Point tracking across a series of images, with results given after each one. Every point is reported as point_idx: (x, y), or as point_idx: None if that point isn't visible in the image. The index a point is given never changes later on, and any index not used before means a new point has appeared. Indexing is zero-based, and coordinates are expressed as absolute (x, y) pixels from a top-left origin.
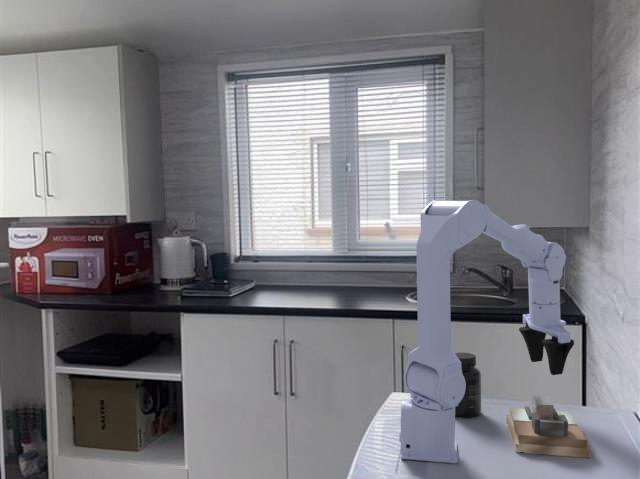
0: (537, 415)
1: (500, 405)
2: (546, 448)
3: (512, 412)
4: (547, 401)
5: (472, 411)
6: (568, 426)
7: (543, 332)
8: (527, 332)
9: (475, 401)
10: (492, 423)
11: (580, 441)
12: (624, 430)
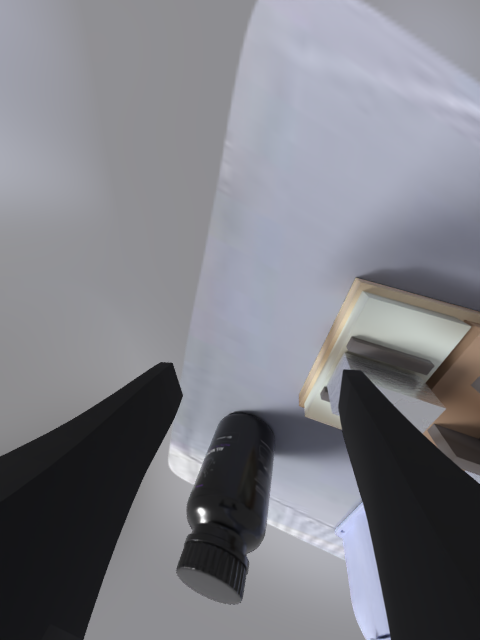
0: (475, 464)
1: (213, 365)
2: None
3: (332, 424)
4: (402, 405)
5: (273, 446)
6: (473, 358)
7: (10, 533)
8: (73, 614)
9: (269, 460)
10: (299, 416)
11: None
12: (433, 111)
